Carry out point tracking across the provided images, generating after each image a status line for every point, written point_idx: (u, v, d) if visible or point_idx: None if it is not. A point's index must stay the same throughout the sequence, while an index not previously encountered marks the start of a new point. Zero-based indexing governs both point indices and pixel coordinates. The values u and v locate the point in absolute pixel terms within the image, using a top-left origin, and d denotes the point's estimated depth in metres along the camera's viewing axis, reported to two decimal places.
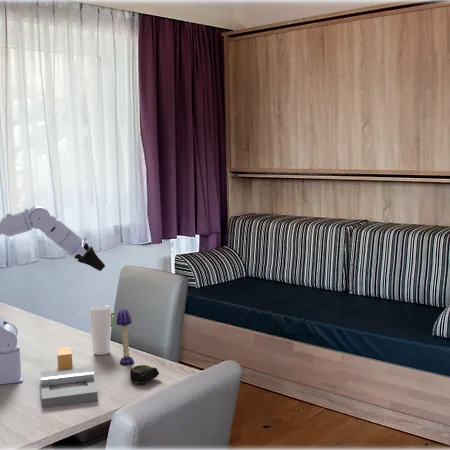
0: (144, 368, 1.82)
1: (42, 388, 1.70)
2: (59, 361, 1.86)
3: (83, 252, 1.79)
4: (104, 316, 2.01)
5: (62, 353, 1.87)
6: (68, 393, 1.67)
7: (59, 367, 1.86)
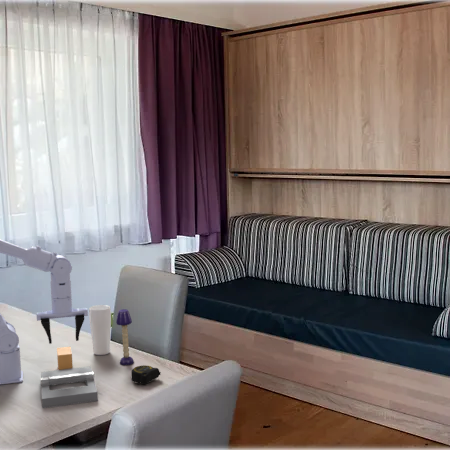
0: (146, 368, 1.81)
1: (42, 388, 1.70)
2: (59, 361, 1.86)
3: None
4: (104, 316, 2.01)
5: (62, 353, 1.87)
6: (68, 393, 1.67)
7: (59, 367, 1.86)
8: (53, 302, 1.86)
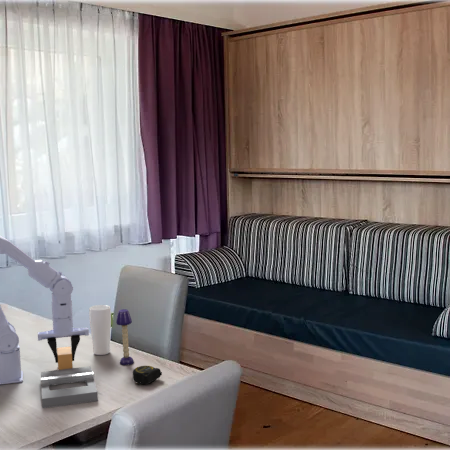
0: (147, 368, 1.81)
1: (42, 388, 1.70)
2: (59, 361, 1.86)
3: None
4: (104, 316, 2.01)
5: (62, 353, 1.87)
6: (68, 393, 1.67)
7: (59, 367, 1.86)
8: (54, 322, 1.86)
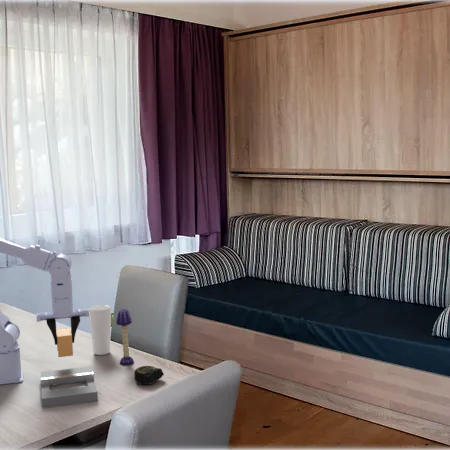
0: (149, 369, 1.81)
1: (42, 388, 1.70)
2: (59, 343, 1.81)
3: None
4: (104, 316, 2.01)
5: (62, 334, 1.82)
6: (68, 393, 1.67)
7: (59, 349, 1.81)
8: (54, 303, 1.81)
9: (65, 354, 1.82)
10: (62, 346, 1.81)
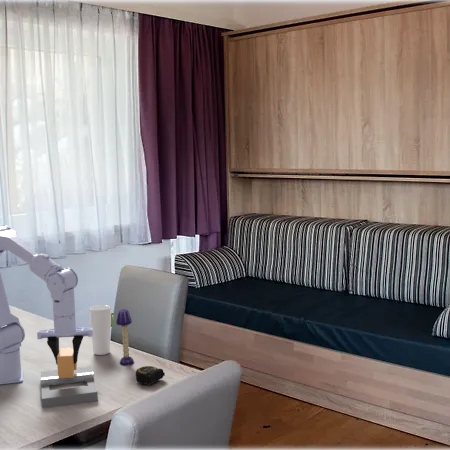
0: (150, 369, 1.81)
1: (42, 388, 1.70)
2: (58, 363, 1.71)
3: (92, 333, 1.74)
4: (104, 316, 2.01)
5: (62, 354, 1.72)
6: (68, 393, 1.67)
7: (58, 369, 1.71)
8: (54, 320, 1.71)
9: (65, 375, 1.71)
10: (62, 367, 1.71)
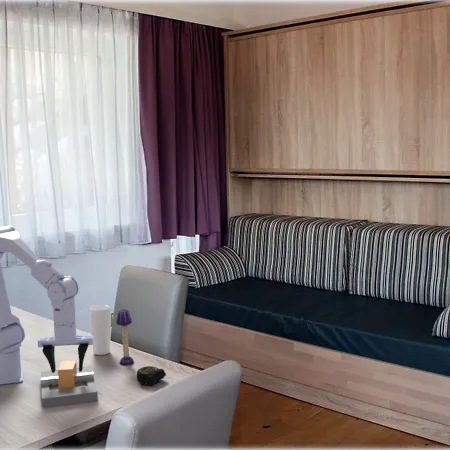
0: (151, 369, 1.80)
1: (42, 388, 1.70)
2: (59, 376, 1.71)
3: (92, 341, 1.74)
4: (104, 316, 2.01)
5: (63, 367, 1.72)
6: (68, 393, 1.67)
7: (59, 382, 1.72)
8: (55, 328, 1.71)
9: None
10: (62, 380, 1.72)
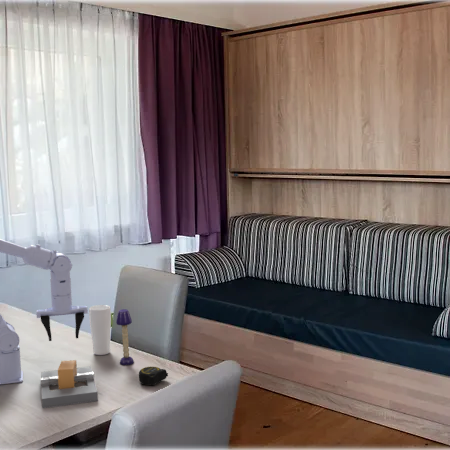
0: (153, 369, 1.80)
1: (42, 388, 1.70)
2: (59, 376, 1.71)
3: None
4: (104, 316, 2.01)
5: (63, 367, 1.72)
6: (68, 393, 1.67)
7: (59, 382, 1.72)
8: (53, 299, 1.86)
9: None
10: (62, 380, 1.72)
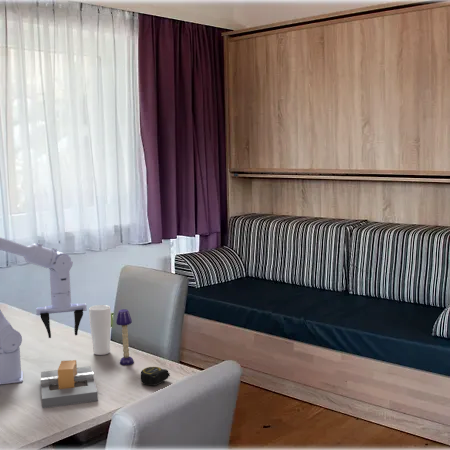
0: (155, 370, 1.80)
1: (42, 388, 1.70)
2: (59, 376, 1.71)
3: (86, 308, 1.94)
4: (104, 316, 2.01)
5: (63, 367, 1.72)
6: (68, 393, 1.67)
7: (59, 382, 1.72)
8: (52, 297, 1.89)
9: None
10: (62, 380, 1.72)
